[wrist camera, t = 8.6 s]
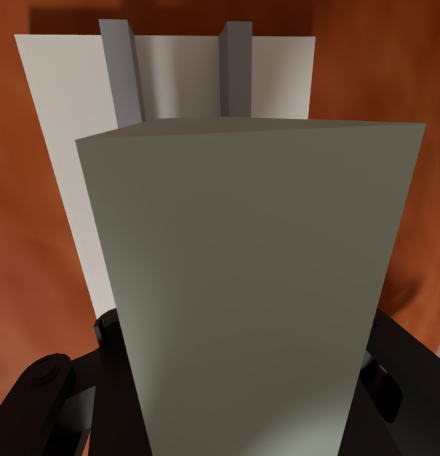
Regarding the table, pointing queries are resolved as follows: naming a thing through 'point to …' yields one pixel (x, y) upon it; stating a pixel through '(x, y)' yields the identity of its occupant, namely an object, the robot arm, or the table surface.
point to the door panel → (247, 271)
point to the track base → (151, 98)
